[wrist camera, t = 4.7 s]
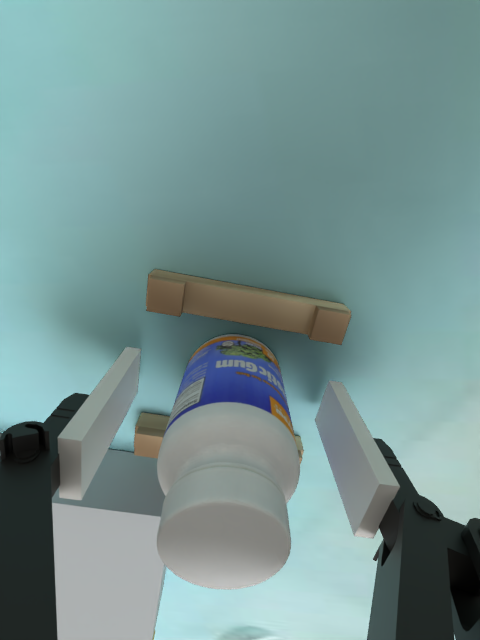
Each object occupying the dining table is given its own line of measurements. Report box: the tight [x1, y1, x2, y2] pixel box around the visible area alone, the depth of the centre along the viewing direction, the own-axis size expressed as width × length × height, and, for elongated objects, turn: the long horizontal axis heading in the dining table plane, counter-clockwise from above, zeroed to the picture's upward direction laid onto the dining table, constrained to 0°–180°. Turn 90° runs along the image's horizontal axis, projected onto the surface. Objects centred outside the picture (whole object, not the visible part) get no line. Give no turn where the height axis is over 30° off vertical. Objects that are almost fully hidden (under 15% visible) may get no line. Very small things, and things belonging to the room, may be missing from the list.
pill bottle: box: [157, 334, 300, 589], centre depth 14 cm, size 5×5×10 cm
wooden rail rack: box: [134, 269, 351, 463], centre depth 17 cm, size 11×10×2 cm
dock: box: [0, 434, 166, 640], centre depth 21 cm, size 14×14×4 cm
